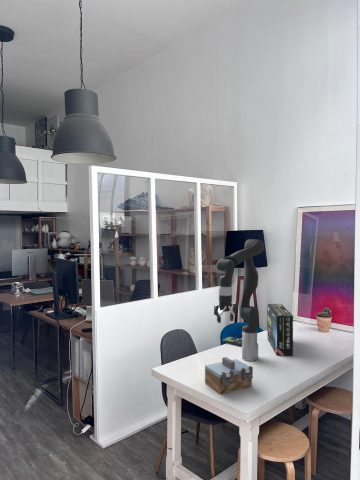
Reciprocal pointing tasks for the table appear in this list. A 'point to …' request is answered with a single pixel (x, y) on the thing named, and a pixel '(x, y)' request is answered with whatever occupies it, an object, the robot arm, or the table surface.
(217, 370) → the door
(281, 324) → the router box
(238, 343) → the disk drive
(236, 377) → the brown wooden open box
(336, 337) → the table surface
